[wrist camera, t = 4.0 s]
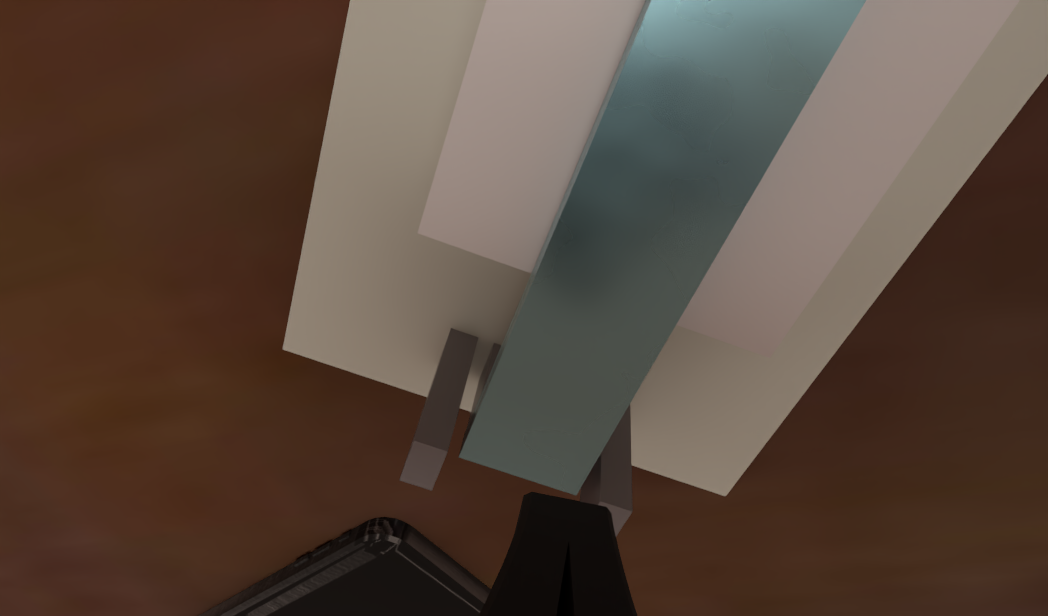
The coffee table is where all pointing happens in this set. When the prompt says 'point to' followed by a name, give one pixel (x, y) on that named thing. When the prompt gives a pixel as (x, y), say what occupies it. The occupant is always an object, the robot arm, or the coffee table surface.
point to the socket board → (445, 284)
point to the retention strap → (646, 220)
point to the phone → (365, 579)
